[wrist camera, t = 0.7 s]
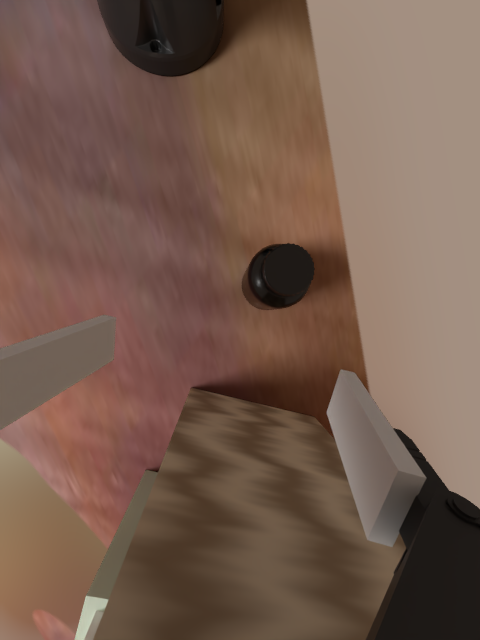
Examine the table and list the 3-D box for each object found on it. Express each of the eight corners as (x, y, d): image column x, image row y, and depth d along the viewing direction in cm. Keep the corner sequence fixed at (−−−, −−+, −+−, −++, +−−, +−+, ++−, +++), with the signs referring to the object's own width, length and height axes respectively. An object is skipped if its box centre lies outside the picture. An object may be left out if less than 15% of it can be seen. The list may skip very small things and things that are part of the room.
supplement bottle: (299, 286, 35) (341, 272, 23) (265, 320, 34) (288, 324, 22) (265, 249, 34) (290, 216, 22) (230, 284, 34) (236, 269, 22)
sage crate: (117, 575, 34) (36, 783, 19) (145, 469, 34) (86, 595, 19) (224, 593, 35) (226, 801, 20) (251, 491, 35) (274, 625, 20)
